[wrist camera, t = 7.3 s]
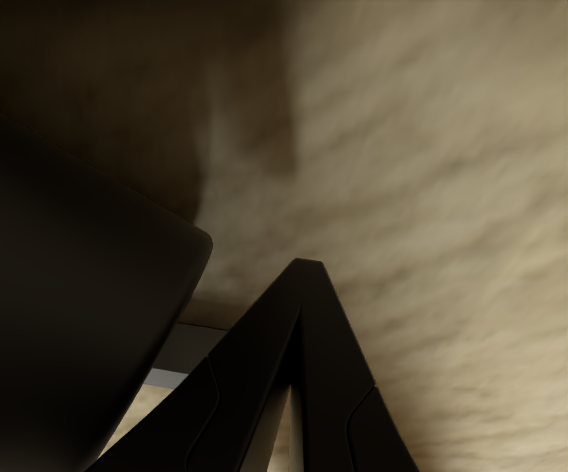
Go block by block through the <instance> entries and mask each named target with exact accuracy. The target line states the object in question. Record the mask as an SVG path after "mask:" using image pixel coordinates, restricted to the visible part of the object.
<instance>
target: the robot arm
mask: <svg viewBox="0 0 568 472" xmlns="http://www.w3.org/2000/svg"><path fill="white" fill-rule="evenodd" d="M290 385H291V400H290V437H289V472H421V471H420V470H419V468H418V466H417V464H416V462H415V460H414V459H413V457H412V455H411V453H410V451H409V449H408V448H407V446H406V444H405V442H404V440H403V438H402V437H401V435H400V433H399V431H398V429H397V426H396V424H395V422H394V420H393V418H392V416H391V414H390V412H389V410H388V408H387V406H386V403H385V401H384V399H383V397H382V394H381V392H380V390H379V388H378V387H376V381H375V379H374V377H373V375H372V372H371V370H370V368H369V365H368V363H367V361H366V359H365V356H364V354H363V352H362V350H361V347H360V345H359V343H358V341H357V338H356V336H355V334H354V332H353V329H352V327H351V325H350V323H349V320H348V318H347V316H346V314H345V311H344V309H343V307H342V305H341V302H340V300H339V298H338V296H337V293H336V291H335V289H334V287H333V284H332V282H331V280H330V278H329V275H328V273H327V271H326V269H325V266H324V264H323V263H322V262H321V261H315V260H308V259H301V258H295V259H294V260H292V262H291V263H290V264H289V265H288V266H287V267H286V268H285V269H284V270H283V272H282V273H281V274H280V275H279V276H278V277H277V278H276V279H275V280H274V281H273V283H272V284H271V285H270V286H269V287H268V288H267V289H266V290H265V291H264V292H263V294H262V295H261V296H260V297H259V298H258V299H257V300H256V301H255V302H254V304H253V305H252V306H251V307H250V308H249V309H248V310H247V311H246V312H245V313H244V315H243V316H242V317H241V318H240V319H239V320H238V321H237V322H236V323H235V325H234V326H233V327H232V328H231V329H230V330H229V331H228V332H227V333H226V334H225V336H224V337H223V338H222V339H221V340H220V341H219V342H218V343H217V344H216V345H215V347H214V348H213V349H212V350H211V351H210V352H209V353H208V357H207V356H206V357H204V358H203V360H202V361H201V362H200V363H199V364H198V365H197V366H196V367H195V368H194V370H193V371H192V372H191V373H190V374H189V375H188V376H187V377H186V378H185V379H184V380H183V381H182V382H181V383H180V384H179V385H178V386H177V387H176V388H175V389H174V390H173V391H172V392H171V393H170V394H169V395H168V396H167V397H166V398H165V399H164V400H163V401H162V402H161V403H160V404H159V405H157V406H156V407H155V408H154V409H153V410H152V411H151V412H150V413H149V414H148V415H147V416H146V417H144V418H143V419H142V420H141V421H140V422H139V423H138V424H137V425H135V426H134V427H133V428H132V429H131V430H130V431H129V432H128V433H126V434H125V435H124V436H123V437H122V438H121V439H120V440H119V441H118V442H116V443H115V444H114V445H113V446H112V447H111V448H110V449H109V450H107V451H106V452H105V453H104V454H103V455H102V456H101V457H100V458H98V459H97V460H96V461H95V462H94V463H93V464H92V465H91V466H89V467H88V468H87V469H86V470H85V471H84V472H267V469H268V465H269V461H270V458H271V454H272V451H273V447H274V443H275V440H276V436H277V432H278V429H279V425H280V421H281V418H282V414H283V411H284V407H285V403H286V400H287V396H288V392H289V389H290Z"/></svg>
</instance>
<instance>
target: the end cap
mask: <svg viewBox="0 0 568 472" xmlns="http://www.w3.org/2000/svg"><path fill="white" fill-rule="evenodd" d="M212 249H213V242H212V238H211V237H210V235H209V234H208V233H206V232H205V231H203V230H201V229H200V228H198V227H196V226H194V225H193V224H191V223H189V222H188V221H186V220H184V219H182V218H181V217H179V216H177V215H175V214H174V213H172V212H170V211H169V210H167V209H165V208H163V207H162V206H160V205H158V204H157V203H155V202H153V201H151V200H150V199H148V198H146V197H144V196H143V195H141V194H139V193H138V192H136V191H134V190H132V189H131V188H129V187H127V186H125V185H124V184H122V183H120V182H119V181H117V180H115V179H113V178H112V177H110V176H108V175H107V174H105V173H103V172H101V171H100V170H98V169H96V168H94V167H93V166H91V165H89V164H88V163H86V162H84V161H82V160H81V159H79V158H77V157H76V156H74V155H72V154H70V153H69V152H67V151H65V150H63V149H62V148H60V147H58V146H57V145H55V144H53V143H51V142H50V141H48V140H46V139H44V138H43V137H41V136H39V135H38V134H36V133H34V132H32V131H31V130H29V129H27V128H26V127H24V126H22V125H20V124H19V123H17V122H15V121H13V120H12V119H10V118H8V117H7V116H5V115H3V114H1V113H0V472H84V471H85V470H86V469H87V468H88V467H89V466H91V465H92V464H93V463H94V462H95V461H96V460H97V458H98V457H99V455H100V454H101V452H102V451H103V449H104V448H105V446H106V444H107V443H108V441H109V440H110V438H111V436H112V435H113V433H114V432H115V430H116V428H117V427H118V425H119V423H120V422H121V420H122V419H123V417H124V415H125V414H126V412H127V410H128V409H129V407H130V405H131V404H132V402H133V400H134V399H135V397H136V395H137V393H138V392H139V390H140V388H141V387H142V385H143V383H144V381H145V380H146V378H147V376H148V374H149V373H150V371H151V369H152V368H153V366H154V364H155V362H156V360H157V359H158V357H159V355H160V353H161V351H162V350H163V348H164V346H165V344H166V343H167V341H168V339H169V337H170V335H171V333H172V332H173V330H174V328H175V326H176V324H177V322H178V320H179V319H180V317H181V315H182V313H183V311H184V309H185V307H186V305H187V303H188V302H189V300H190V298H191V296H192V294H193V292H194V290H195V288H196V286H197V284H198V282H199V280H200V278H201V276H202V273H203V271H204V269H205V267H206V264H207V262H208V260H209V257H210V255H211V252H212Z"/></svg>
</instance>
